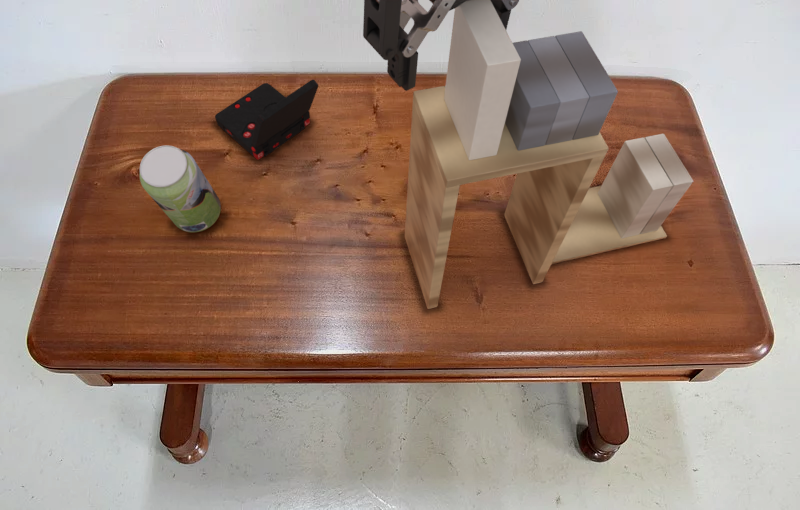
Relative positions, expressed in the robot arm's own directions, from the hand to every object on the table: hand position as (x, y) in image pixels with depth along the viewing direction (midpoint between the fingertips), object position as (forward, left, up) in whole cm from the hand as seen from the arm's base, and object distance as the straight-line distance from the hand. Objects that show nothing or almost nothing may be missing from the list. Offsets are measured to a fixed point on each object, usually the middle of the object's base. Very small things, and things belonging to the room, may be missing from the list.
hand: (446, 61), depth 48 cm
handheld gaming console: (+22, +15, -29) cm, 39 cm away
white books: (-2, -21, -29) cm, 35 cm away
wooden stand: (-3, -5, -29) cm, 29 cm away
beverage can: (+10, +26, -29) cm, 40 cm away
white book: (-3, -1, -5) cm, 6 cm away
